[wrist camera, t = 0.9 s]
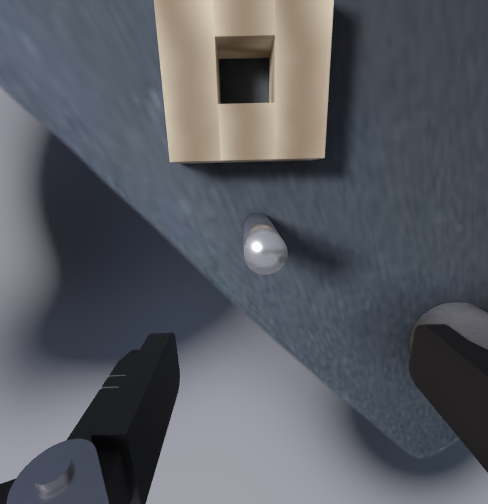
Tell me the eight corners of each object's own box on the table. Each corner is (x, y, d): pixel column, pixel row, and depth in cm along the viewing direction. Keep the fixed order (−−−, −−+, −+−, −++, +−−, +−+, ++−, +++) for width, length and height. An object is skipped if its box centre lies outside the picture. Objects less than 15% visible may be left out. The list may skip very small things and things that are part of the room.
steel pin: (271, 212, 27) (288, 232, 18) (271, 240, 28) (287, 273, 19) (242, 212, 27) (243, 233, 18) (243, 240, 28) (244, 275, 19)
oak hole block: (319, -2, 22) (336, -39, 19) (312, 160, 26) (324, 157, 22) (165, 1, 22) (150, -35, 18) (180, 163, 26) (169, 161, 22)
